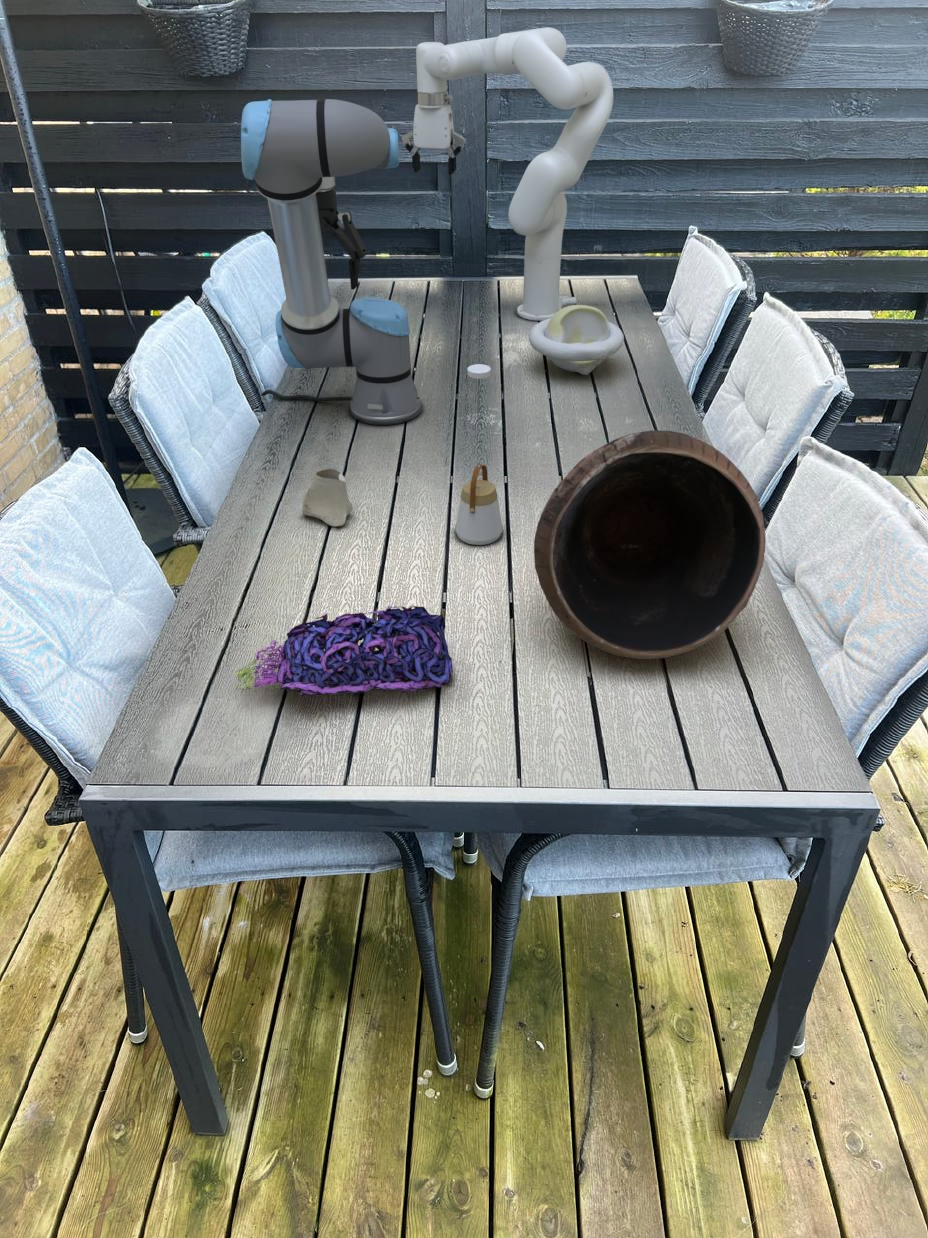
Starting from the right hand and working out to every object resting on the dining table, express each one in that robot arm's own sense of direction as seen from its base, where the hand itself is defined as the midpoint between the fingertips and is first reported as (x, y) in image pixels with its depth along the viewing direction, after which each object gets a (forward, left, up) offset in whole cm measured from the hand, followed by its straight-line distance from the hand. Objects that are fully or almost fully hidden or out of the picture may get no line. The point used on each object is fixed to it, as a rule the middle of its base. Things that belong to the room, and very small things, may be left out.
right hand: (434, 172), depth 247 cm
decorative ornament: (+54, +161, -31) cm, 173 cm away
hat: (-17, +65, -31) cm, 74 cm away
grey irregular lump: (+50, +116, -31) cm, 130 cm away
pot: (+7, +156, -31) cm, 159 cm away
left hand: (+36, +38, -14) cm, 54 cm away
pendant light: (+25, +128, -31) cm, 134 cm away
